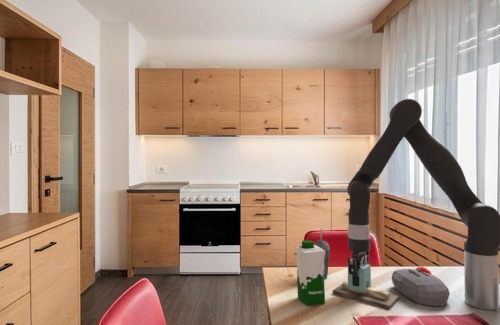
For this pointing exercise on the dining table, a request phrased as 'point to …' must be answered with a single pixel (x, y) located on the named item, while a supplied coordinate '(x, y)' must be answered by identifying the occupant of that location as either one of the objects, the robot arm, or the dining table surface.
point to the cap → (424, 270)
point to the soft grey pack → (420, 287)
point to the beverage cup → (325, 247)
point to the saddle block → (361, 278)
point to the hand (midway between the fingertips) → (359, 283)
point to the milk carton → (310, 273)
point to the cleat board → (368, 296)
